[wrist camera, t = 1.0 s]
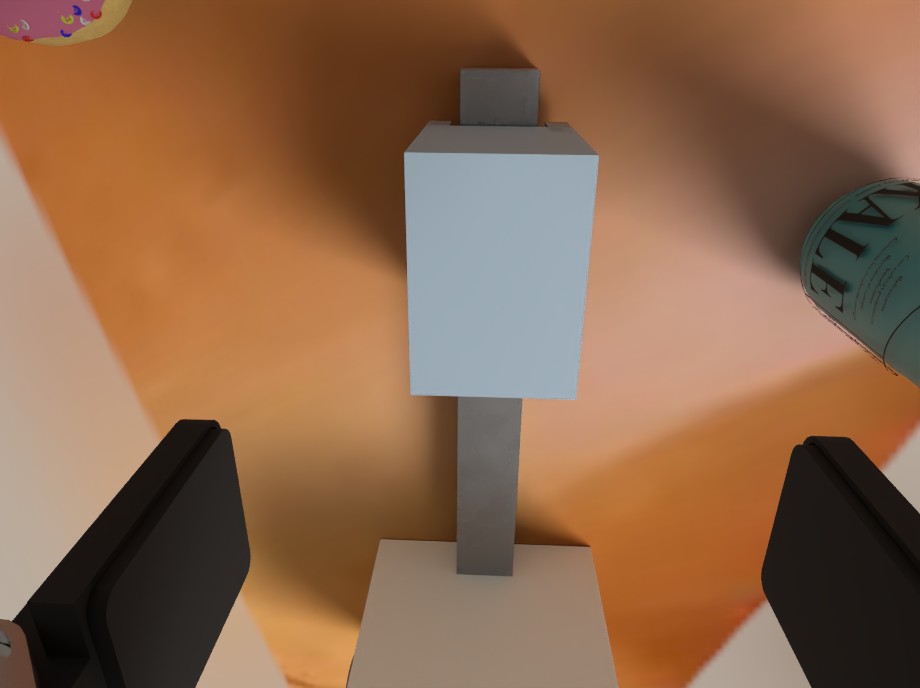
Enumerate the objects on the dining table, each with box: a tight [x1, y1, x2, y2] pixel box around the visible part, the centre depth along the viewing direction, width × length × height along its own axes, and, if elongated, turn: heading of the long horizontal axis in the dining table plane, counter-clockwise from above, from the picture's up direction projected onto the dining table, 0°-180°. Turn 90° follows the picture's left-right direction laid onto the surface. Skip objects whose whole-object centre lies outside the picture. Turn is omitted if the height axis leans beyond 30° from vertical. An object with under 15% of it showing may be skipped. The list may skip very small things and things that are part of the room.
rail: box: [456, 67, 540, 576], centre depth 31 cm, size 25×3×2 cm, turn 0°
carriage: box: [404, 121, 599, 400], centre depth 24 cm, size 8×6×9 cm
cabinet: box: [346, 539, 618, 688], centre depth 33 cm, size 8×12×12 cm, turn 89°
